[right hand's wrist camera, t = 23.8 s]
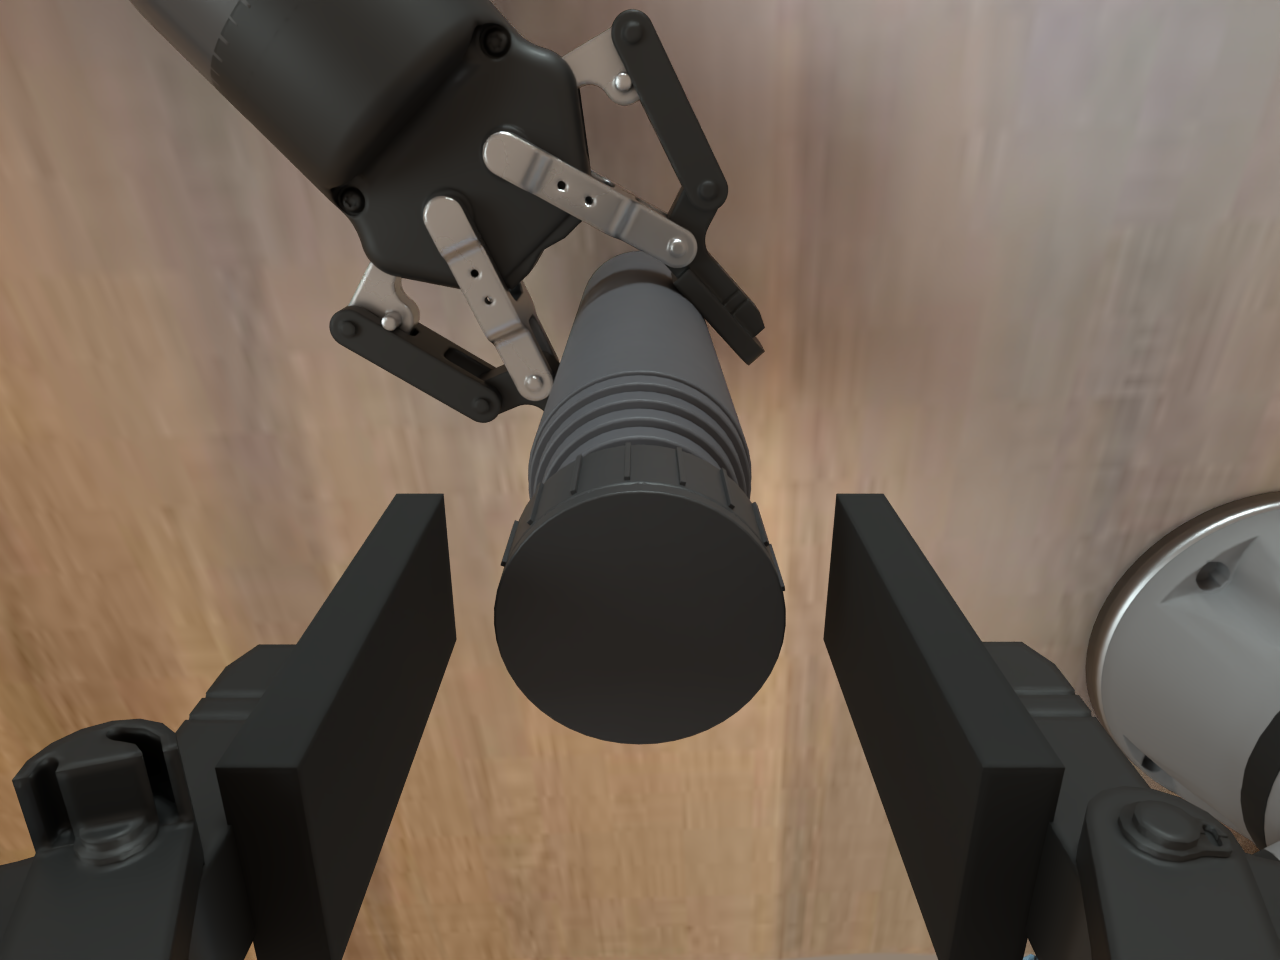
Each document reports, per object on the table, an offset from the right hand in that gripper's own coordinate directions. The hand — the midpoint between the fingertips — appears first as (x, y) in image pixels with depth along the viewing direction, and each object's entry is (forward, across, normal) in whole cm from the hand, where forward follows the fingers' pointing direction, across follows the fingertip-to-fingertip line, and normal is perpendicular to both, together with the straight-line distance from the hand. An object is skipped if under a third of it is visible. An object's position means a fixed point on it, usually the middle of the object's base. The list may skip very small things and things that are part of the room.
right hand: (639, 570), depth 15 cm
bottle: (+22, 0, 0) cm, 22 cm away
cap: (-1, 0, 0) cm, 1 cm away
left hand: (+16, -2, +2) cm, 16 cm away
